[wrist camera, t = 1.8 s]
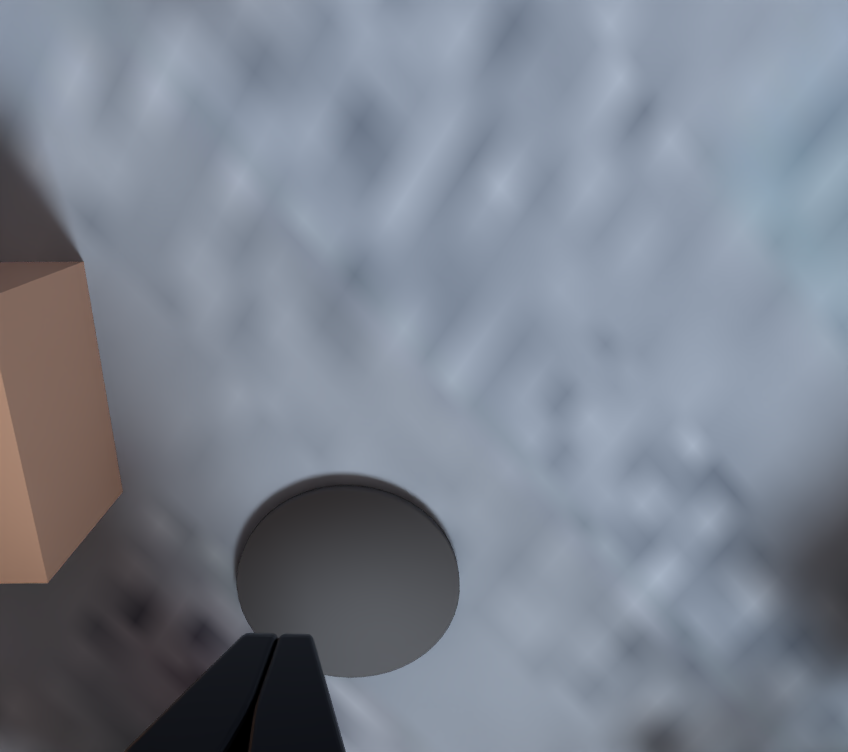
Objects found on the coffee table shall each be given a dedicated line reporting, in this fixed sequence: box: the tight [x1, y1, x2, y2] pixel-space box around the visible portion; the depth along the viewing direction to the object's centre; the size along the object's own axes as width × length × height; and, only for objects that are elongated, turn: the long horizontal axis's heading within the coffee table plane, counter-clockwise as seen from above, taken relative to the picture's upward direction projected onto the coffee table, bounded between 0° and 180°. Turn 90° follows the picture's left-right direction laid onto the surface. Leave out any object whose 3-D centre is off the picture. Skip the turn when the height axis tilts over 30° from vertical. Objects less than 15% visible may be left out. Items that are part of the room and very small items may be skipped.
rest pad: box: [237, 485, 460, 678], centre depth 18 cm, size 6×6×1 cm
